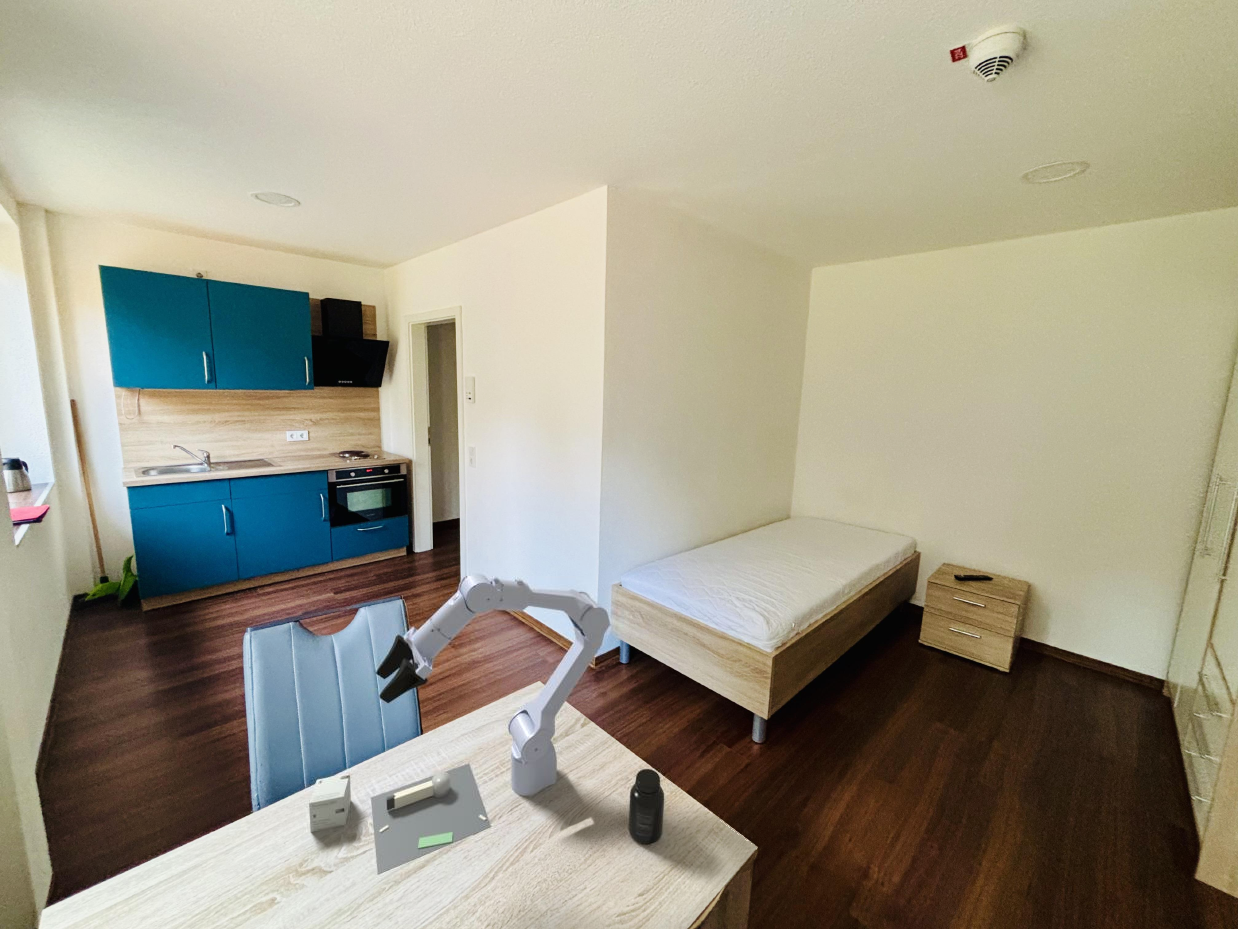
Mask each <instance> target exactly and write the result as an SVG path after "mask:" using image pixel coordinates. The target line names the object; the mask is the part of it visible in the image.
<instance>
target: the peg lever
mask: <svg viewBox="0 0 1238 929" xmlns="http://www.w3.org/2000/svg"><path fill="white" fill-rule="evenodd" d="M434 775H435V776H434ZM434 775H433V776H434V777H433V778H432V780H431V781H429V782H426V783H423V784H420V785H417V786H414V787H411V788H409V789H406V790H403V791H400V792H397V793H394V795H393V796H390V797H387V798H386V801H387V810H390V809H393V808H395V809H397V808H400V807H402V806H405V805H408V804H411V803H413V802H416V801H419V800H422V799H424V798H427V797H430V796H433V797H434V798H443V797H445V796H447V795H448V794H449V792H450V775H449V774H448V773H446V771H441V772H438V773H436V774H434Z"/></svg>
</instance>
